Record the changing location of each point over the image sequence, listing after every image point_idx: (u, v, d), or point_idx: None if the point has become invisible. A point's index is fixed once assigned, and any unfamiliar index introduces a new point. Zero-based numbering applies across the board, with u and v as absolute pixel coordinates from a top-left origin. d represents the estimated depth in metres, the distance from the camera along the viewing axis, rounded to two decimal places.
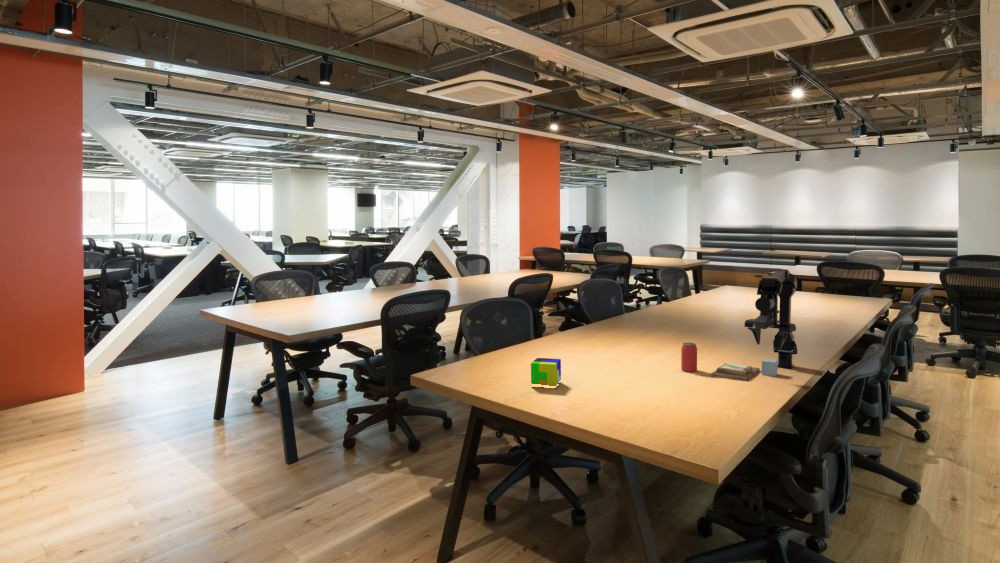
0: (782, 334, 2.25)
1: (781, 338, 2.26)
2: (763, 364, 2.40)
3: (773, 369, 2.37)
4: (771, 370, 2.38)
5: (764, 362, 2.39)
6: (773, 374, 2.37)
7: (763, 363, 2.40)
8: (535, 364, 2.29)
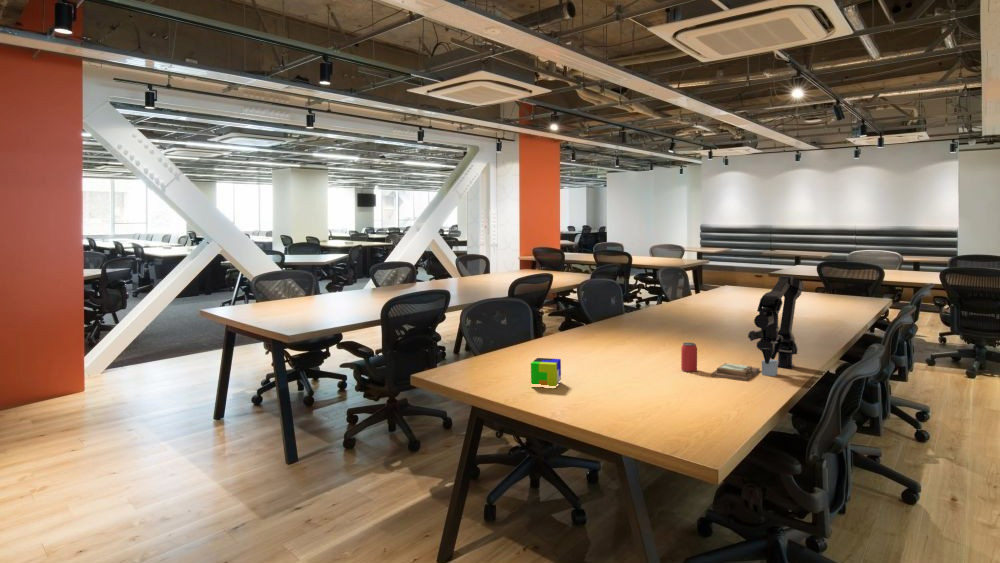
0: None
1: None
2: (763, 364, 2.40)
3: (773, 369, 2.37)
4: (771, 370, 2.38)
5: (764, 362, 2.39)
6: (773, 374, 2.37)
7: (763, 363, 2.40)
8: (535, 364, 2.29)
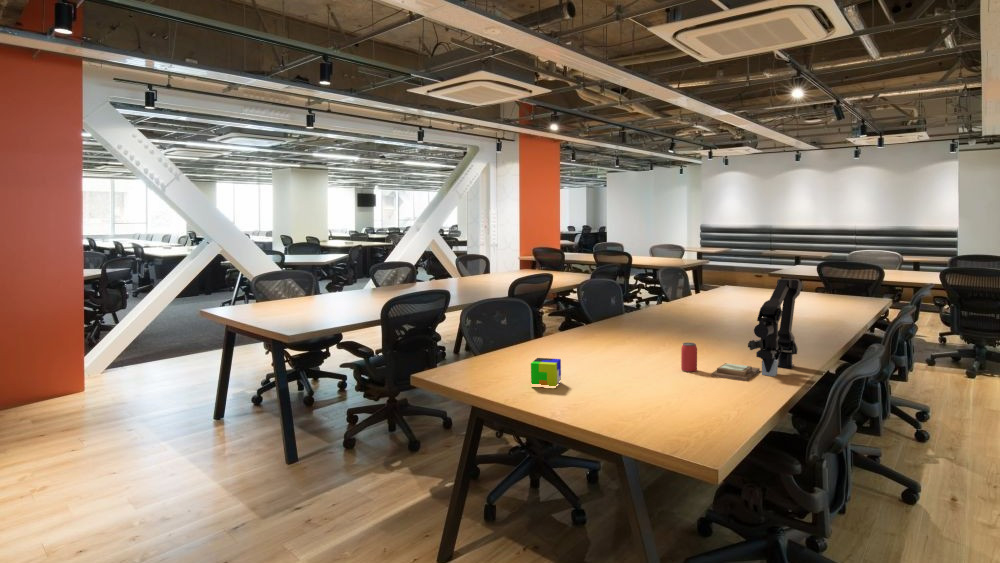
0: None
1: None
2: (763, 364, 2.40)
3: (773, 369, 2.37)
4: (771, 370, 2.38)
5: None
6: (773, 374, 2.37)
7: (763, 363, 2.40)
8: (535, 364, 2.29)
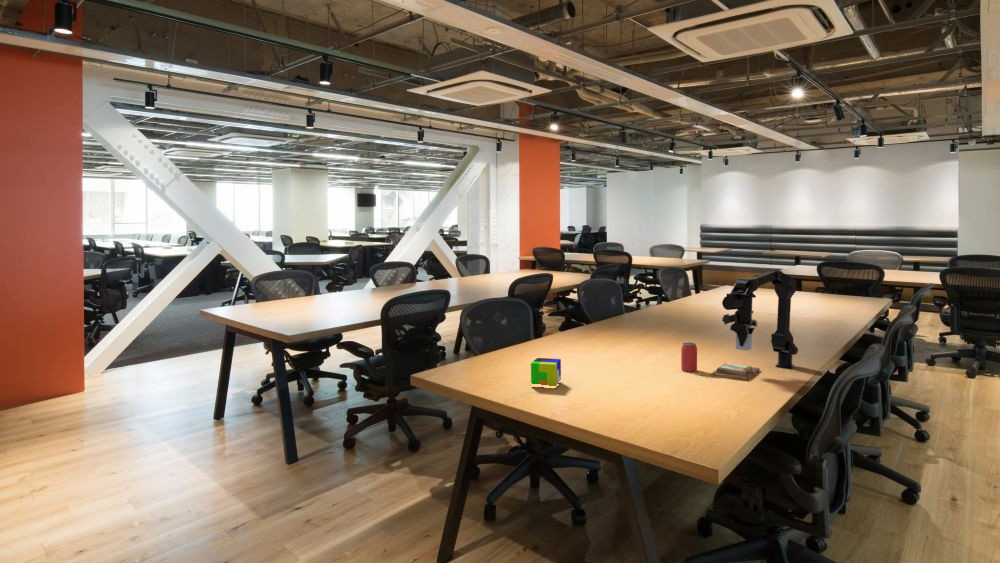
0: None
1: None
2: (737, 338, 2.39)
3: (747, 343, 2.37)
4: (745, 344, 2.37)
5: None
6: (747, 348, 2.37)
7: (737, 337, 2.39)
8: (535, 364, 2.29)
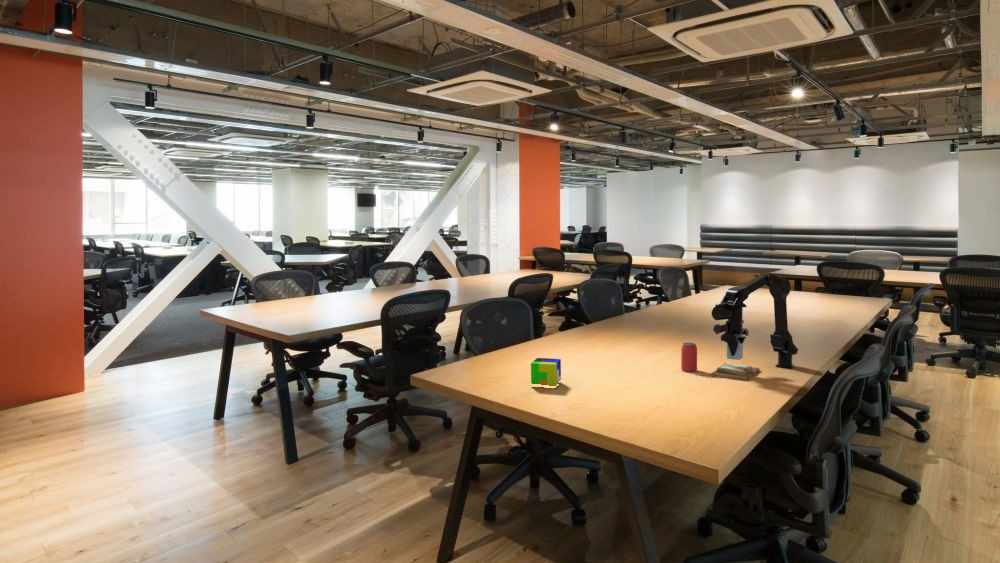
0: None
1: None
2: (728, 348, 2.40)
3: (738, 352, 2.38)
4: (736, 353, 2.39)
5: None
6: (738, 357, 2.38)
7: (728, 347, 2.40)
8: (535, 364, 2.29)
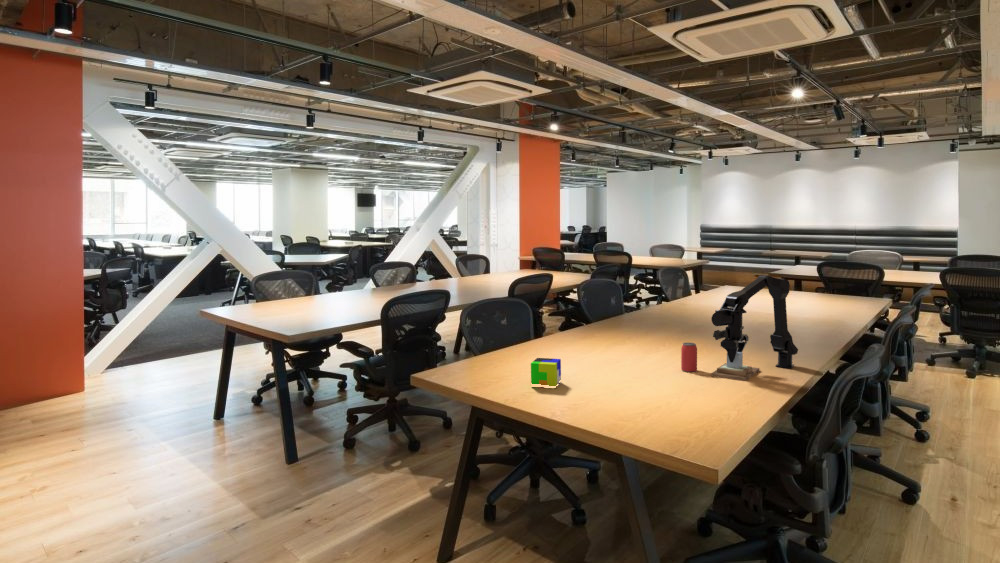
0: None
1: None
2: None
3: (738, 361, 2.38)
4: (735, 362, 2.39)
5: None
6: (738, 366, 2.38)
7: None
8: (535, 364, 2.29)
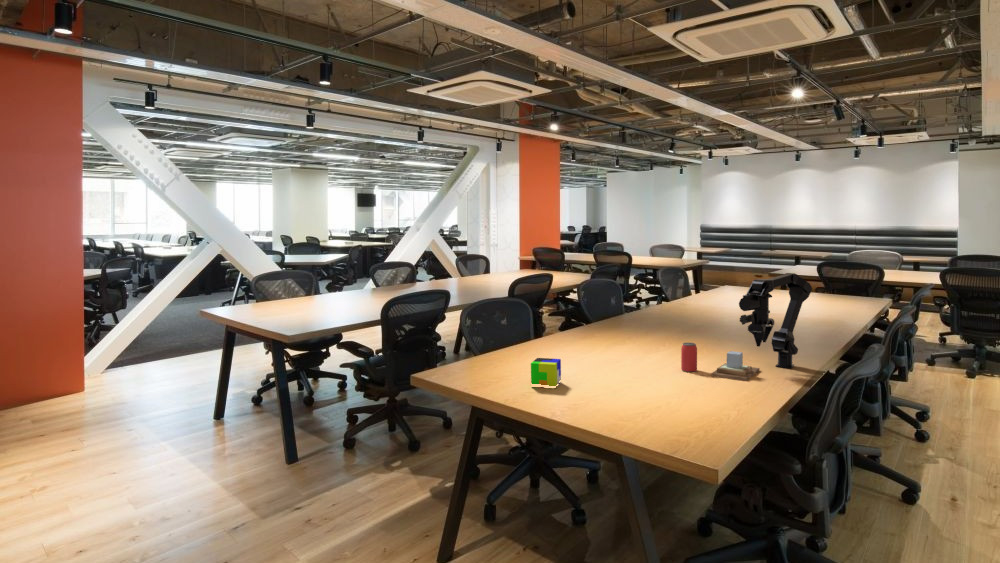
0: None
1: None
2: (728, 356, 2.41)
3: (738, 361, 2.38)
4: (735, 362, 2.39)
5: (729, 354, 2.40)
6: (738, 366, 2.38)
7: (728, 355, 2.41)
8: (535, 364, 2.29)
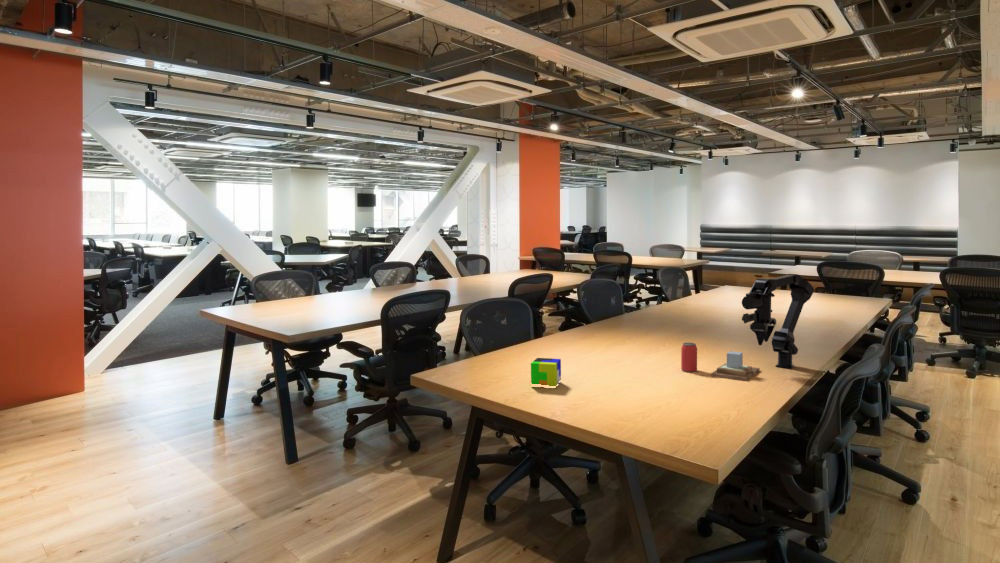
0: None
1: None
2: (728, 356, 2.41)
3: (738, 361, 2.38)
4: (735, 362, 2.39)
5: (729, 354, 2.40)
6: (738, 366, 2.38)
7: (728, 355, 2.41)
8: (535, 364, 2.29)
